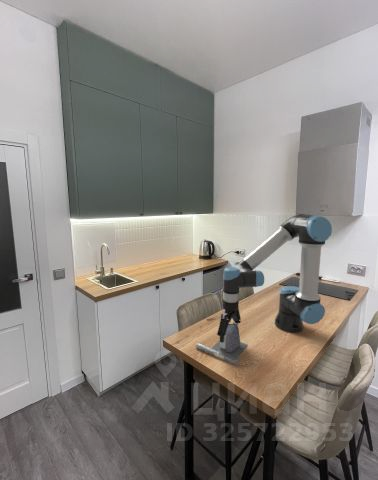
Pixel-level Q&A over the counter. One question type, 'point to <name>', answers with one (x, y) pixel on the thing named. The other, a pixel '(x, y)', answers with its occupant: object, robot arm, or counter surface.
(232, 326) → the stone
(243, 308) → the counter surface
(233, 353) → the mat
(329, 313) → the counter surface
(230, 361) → the rail
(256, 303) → the counter surface
